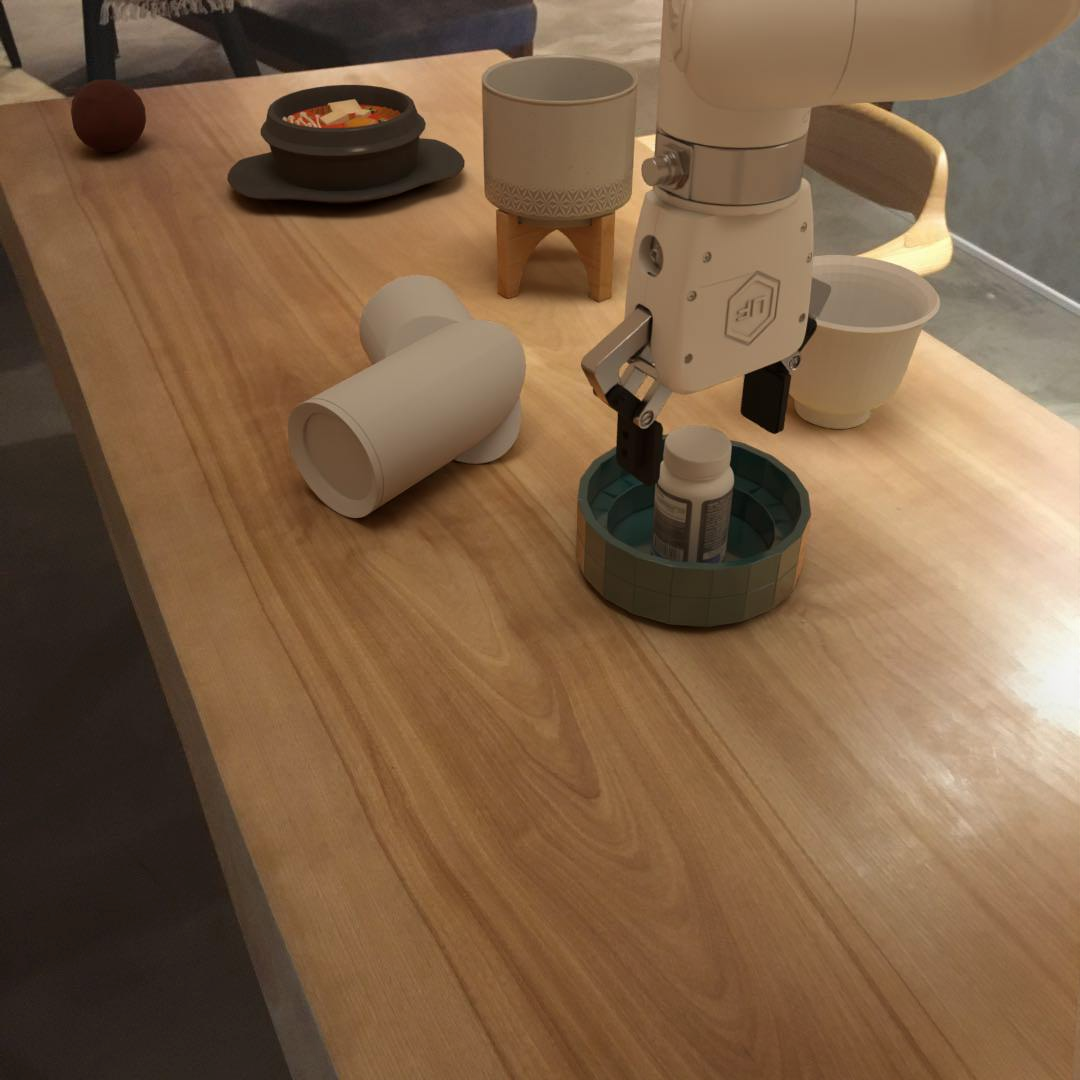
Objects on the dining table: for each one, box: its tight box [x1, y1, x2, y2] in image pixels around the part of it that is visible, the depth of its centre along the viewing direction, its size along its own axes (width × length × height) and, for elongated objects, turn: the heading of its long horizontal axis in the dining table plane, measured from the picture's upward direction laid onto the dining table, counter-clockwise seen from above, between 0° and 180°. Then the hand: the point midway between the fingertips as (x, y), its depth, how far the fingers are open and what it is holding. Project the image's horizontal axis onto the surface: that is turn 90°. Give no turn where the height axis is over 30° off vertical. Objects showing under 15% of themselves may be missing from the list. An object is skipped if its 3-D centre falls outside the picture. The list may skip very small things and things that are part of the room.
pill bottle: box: [652, 424, 734, 563], centre depth 73 cm, size 5×5×8 cm
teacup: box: [789, 254, 941, 430], centre depth 87 cm, size 12×15×10 cm
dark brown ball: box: [70, 78, 147, 153], centre depth 132 cm, size 8×9×8 cm
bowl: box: [575, 433, 812, 628], centre depth 74 cm, size 14×14×5 cm
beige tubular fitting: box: [287, 274, 527, 519], centre depth 83 cm, size 18×10×20 cm
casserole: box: [227, 84, 466, 205], centre depth 123 cm, size 25×19×8 cm
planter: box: [480, 54, 639, 302], centre depth 103 cm, size 13×13×18 cm
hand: (701, 448), depth 70 cm, fingers open, 9 cm apart
